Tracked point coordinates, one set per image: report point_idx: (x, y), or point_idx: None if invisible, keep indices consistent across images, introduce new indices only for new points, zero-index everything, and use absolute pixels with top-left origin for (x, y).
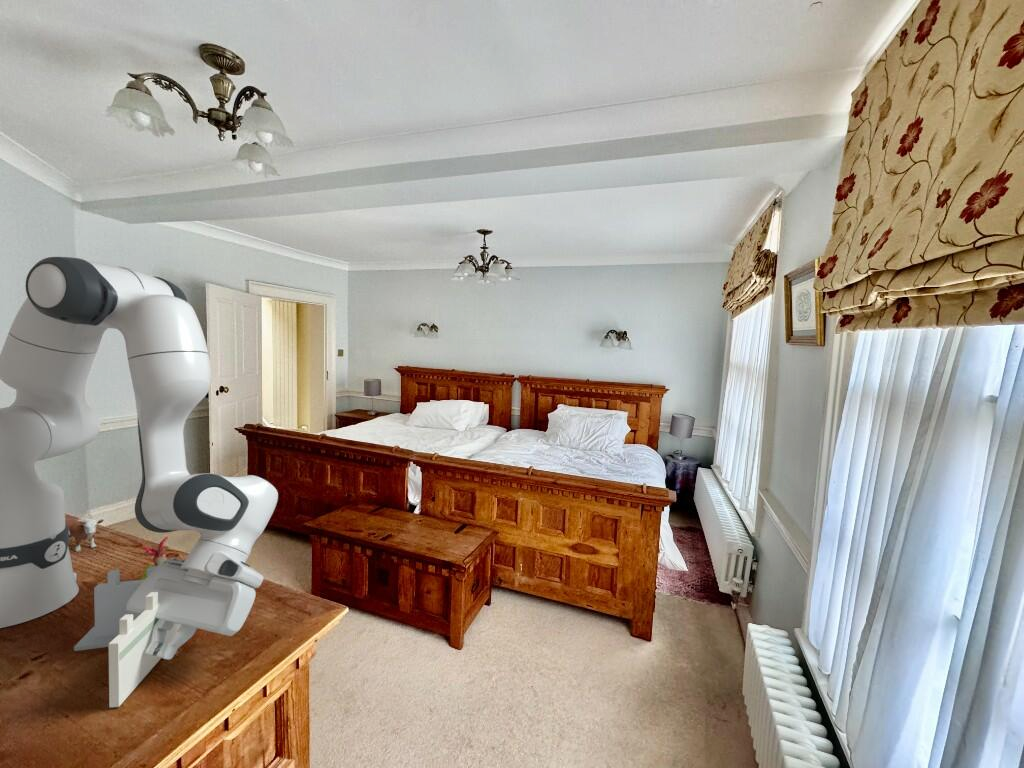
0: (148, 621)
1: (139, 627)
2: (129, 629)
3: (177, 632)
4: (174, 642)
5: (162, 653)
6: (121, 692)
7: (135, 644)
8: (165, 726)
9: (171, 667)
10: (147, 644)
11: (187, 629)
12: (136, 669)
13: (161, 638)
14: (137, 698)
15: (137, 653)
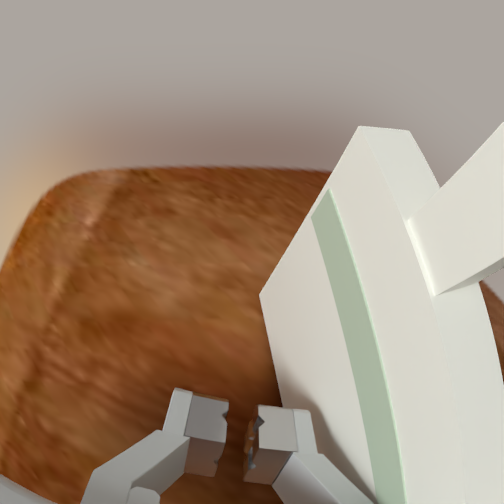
0: (420, 482)
1: (420, 378)
2: (432, 231)
3: (153, 491)
4: (145, 440)
5: (196, 402)
6: (270, 294)
7: (348, 345)
8: (79, 245)
9: (233, 471)
10: (335, 446)
11: (82, 500)
12: (294, 369)
13: (289, 488)
14: (235, 337)
15: (322, 371)
